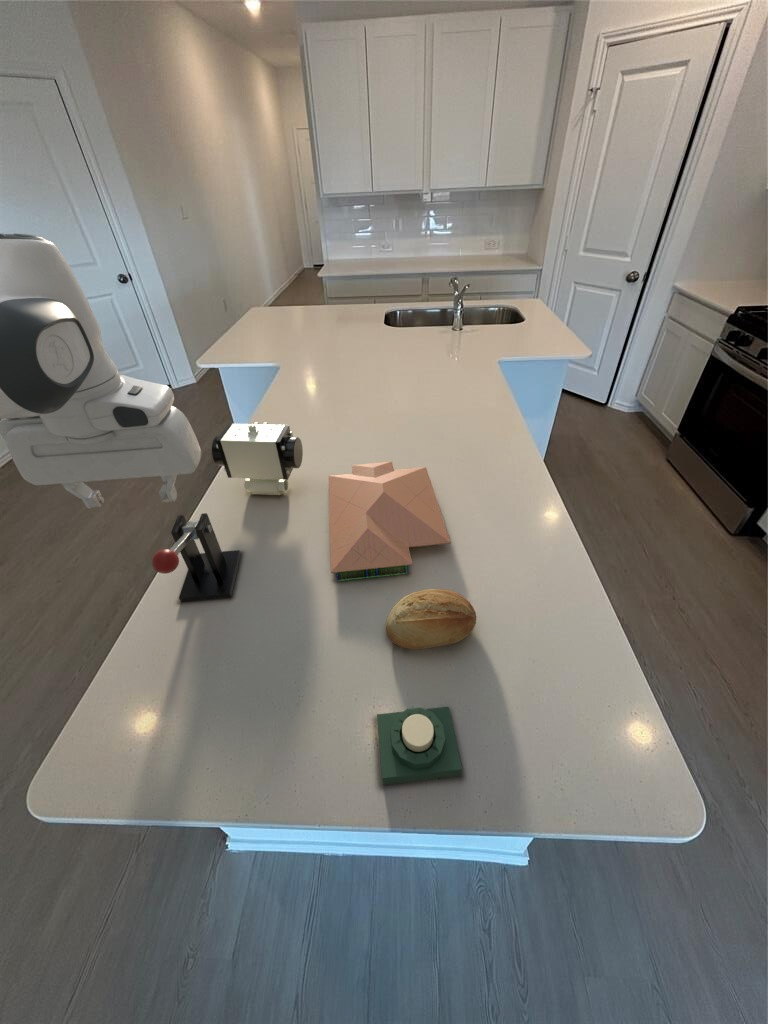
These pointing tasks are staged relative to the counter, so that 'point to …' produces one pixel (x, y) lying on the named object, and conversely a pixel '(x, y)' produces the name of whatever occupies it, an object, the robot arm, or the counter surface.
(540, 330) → the counter surface
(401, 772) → the control block
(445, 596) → the bread roll
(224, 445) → the ball valve
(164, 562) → the lever
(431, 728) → the button
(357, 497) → the house
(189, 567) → the bracket
